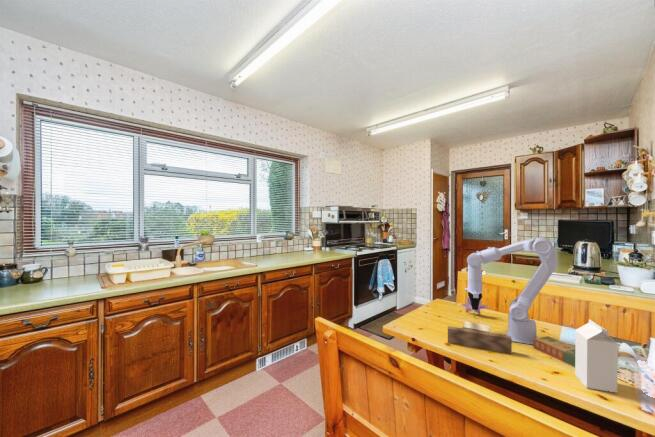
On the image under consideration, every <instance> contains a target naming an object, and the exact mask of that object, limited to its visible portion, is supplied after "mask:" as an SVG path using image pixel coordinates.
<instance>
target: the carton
mask: <svg viewBox="0 0 655 437" xmlns="http://www.w3.org/2000/svg"><path fill="white" fill-rule="evenodd" d="M533 344H534V345H532V346H533V349H534V350H535V351H538V352H541V353H543V354H544V355H547V356H548V357H551V358H553V359H556V360H558V361H560V362H562V363H564V364H567V365H569V366H570V367H573V368H575V346H573V345H570V344H568V343H566V342H564V341H561V340H559V339H555V338H553V337H551V336H549V335H548V336H542V337H537V338H536V339H534V342H533Z"/></svg>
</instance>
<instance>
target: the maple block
mask: <svg viewBox="0 0 655 437" xmlns="http://www.w3.org/2000/svg"><path fill="white" fill-rule="evenodd" d="M461 328H463V329H470V330H476V331H483V332H489V333H491V325H488V324H483V323H477V322H471V321H466V320H463V324H462V326H461Z"/></svg>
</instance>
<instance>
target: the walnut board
mask: <svg viewBox="0 0 655 437" xmlns="http://www.w3.org/2000/svg"><path fill="white" fill-rule="evenodd" d="M512 342H513V341H512V338H511V336H509V335H506V334H502V333H496V332H495V333H494V332H490V333H489V332H483V331H476V330H470V329H463V328H462V327H457V326H456V327H454V326H448V325H447V344H451V345H457V346H464V347H470V348H473V349H474V348H475V349H479V350H480V349H481V350H485V351H486V350H487V351H491V352H497V353H503V354H508V355H512V353H513V352H512V350H513V349H512V348H513V347H512V346H513V344H512Z"/></svg>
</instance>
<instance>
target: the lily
mask: <svg viewBox="0 0 655 437" xmlns="http://www.w3.org/2000/svg"><path fill="white" fill-rule="evenodd" d="M482 302H483V301H482V300H480V302H479V306H478V310H472V306H471V301H470V298H469V296H467V297H466V303H462V304H460V306H462V307H464V308H465V309H464V310H465V312H466V313H468V312H473V318H474V319H476V314H475V313H477V314H478V315H481V310H483V309H484V310H485V309H490V307H489V306H487V305H486V304H482Z"/></svg>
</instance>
